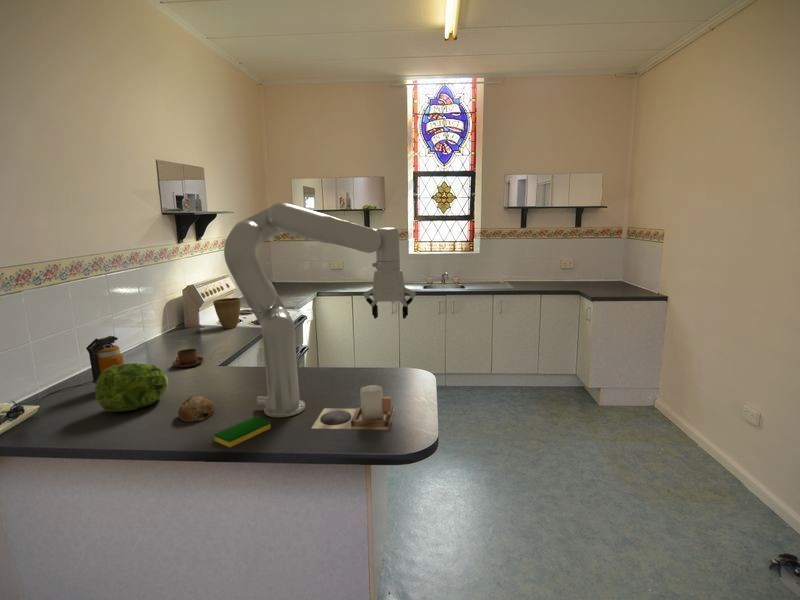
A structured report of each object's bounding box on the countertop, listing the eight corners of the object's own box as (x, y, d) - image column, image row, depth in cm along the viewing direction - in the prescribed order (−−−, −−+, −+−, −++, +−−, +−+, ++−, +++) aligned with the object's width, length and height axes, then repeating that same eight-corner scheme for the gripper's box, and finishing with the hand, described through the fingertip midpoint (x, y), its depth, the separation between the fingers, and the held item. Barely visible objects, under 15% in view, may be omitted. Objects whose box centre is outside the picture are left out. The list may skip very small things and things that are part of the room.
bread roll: (189, 435, 142) (193, 414, 139) (169, 415, 146) (172, 395, 143) (217, 422, 151) (222, 403, 147) (197, 404, 155) (201, 384, 152)
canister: (132, 386, 176) (125, 334, 173) (103, 397, 166) (95, 342, 163) (116, 384, 180) (109, 333, 176) (87, 394, 170) (78, 340, 167)
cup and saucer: (196, 369, 195) (194, 354, 194) (167, 370, 195) (165, 355, 194) (208, 360, 207) (206, 346, 206) (181, 361, 207) (179, 347, 206)
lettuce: (179, 409, 160) (182, 363, 163) (118, 412, 142) (123, 361, 144) (148, 409, 168) (151, 365, 170) (86, 412, 149) (90, 363, 152)
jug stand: (311, 431, 133) (310, 423, 133) (324, 411, 147) (323, 403, 146) (388, 432, 131) (388, 424, 130) (394, 412, 144) (394, 404, 144)
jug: (359, 423, 135) (358, 393, 134) (364, 413, 141) (362, 385, 140) (390, 423, 134) (389, 393, 133) (393, 414, 140) (391, 385, 139)
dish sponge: (214, 442, 130) (213, 433, 130) (256, 423, 141) (255, 415, 141) (229, 449, 126) (229, 440, 125) (271, 429, 137) (271, 421, 136)
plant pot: (247, 324, 277) (245, 297, 274) (236, 330, 262) (233, 301, 259) (223, 324, 278) (220, 297, 275) (211, 330, 264) (207, 302, 261)
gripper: (359, 267, 151) (362, 320, 154) (413, 267, 148) (414, 320, 151) (365, 265, 158) (367, 315, 161) (416, 264, 155) (417, 315, 158)
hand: (390, 317), depth 156 cm, fingers open, 9 cm apart
